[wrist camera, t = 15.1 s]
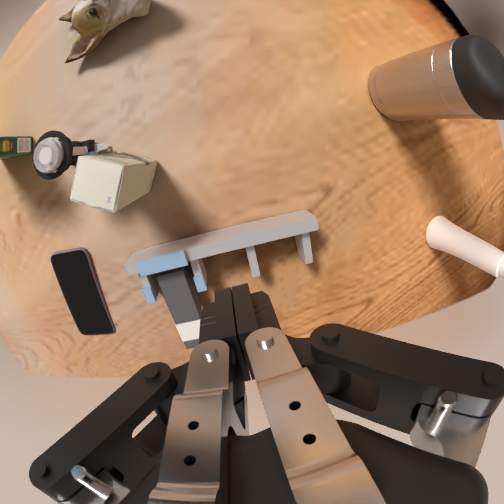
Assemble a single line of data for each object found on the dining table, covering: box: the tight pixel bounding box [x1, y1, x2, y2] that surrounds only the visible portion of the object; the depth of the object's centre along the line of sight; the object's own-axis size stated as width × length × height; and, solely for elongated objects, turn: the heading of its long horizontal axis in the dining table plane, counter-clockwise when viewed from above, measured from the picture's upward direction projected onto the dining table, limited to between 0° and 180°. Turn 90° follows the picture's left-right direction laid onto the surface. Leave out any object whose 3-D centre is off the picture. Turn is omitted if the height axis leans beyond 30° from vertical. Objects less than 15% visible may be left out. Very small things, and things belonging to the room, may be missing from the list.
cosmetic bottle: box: [426, 216, 504, 278], centre depth 31 cm, size 6×6×22 cm
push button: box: [33, 131, 108, 180], centre depth 26 cm, size 7×5×10 cm
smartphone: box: [51, 248, 115, 335], centre depth 37 cm, size 7×1×15 cm
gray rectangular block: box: [157, 265, 203, 349], centre depth 38 cm, size 12×4×4 cm, turn 12°
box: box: [70, 153, 157, 213], centre depth 27 cm, size 5×4×13 cm
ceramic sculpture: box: [59, 0, 151, 63], centre depth 20 cm, size 11×9×15 cm
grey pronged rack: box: [124, 209, 319, 304], centre depth 35 cm, size 24×6×6 cm, turn 102°
